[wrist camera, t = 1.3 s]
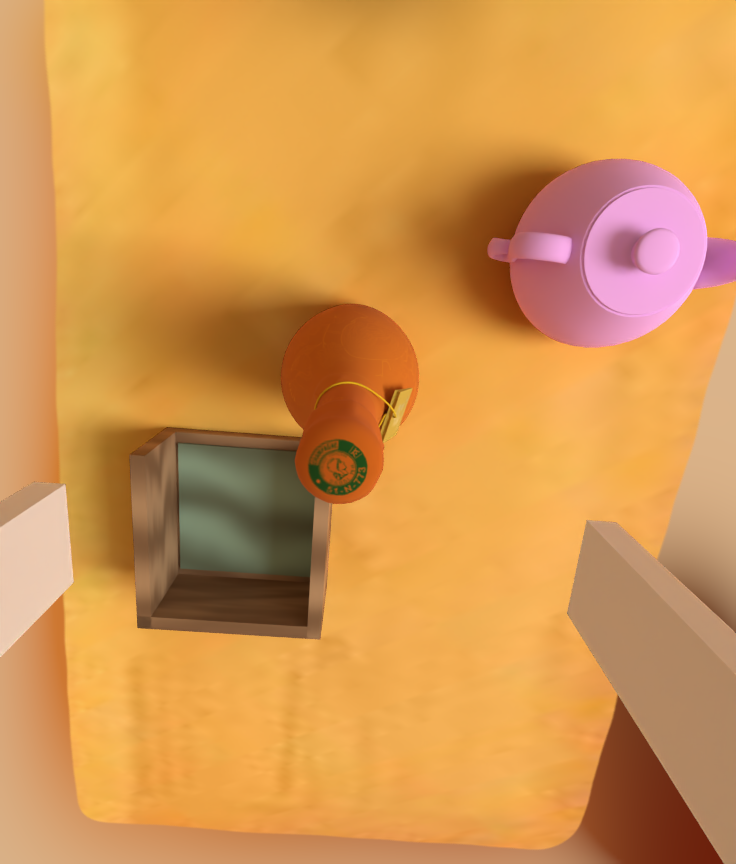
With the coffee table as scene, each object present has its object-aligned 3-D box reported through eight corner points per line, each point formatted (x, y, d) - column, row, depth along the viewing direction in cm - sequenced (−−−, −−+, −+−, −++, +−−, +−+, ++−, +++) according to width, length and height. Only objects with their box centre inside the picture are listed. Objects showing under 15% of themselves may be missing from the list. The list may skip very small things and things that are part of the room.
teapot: (722, 180, 44) (860, 141, 31) (683, 350, 47) (792, 372, 35) (486, 162, 43) (535, 115, 31) (466, 335, 47) (502, 353, 35)
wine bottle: (339, 429, 49) (307, 635, 20) (277, 342, 47) (140, 436, 18) (427, 371, 48) (527, 503, 19) (367, 279, 45) (375, 268, 16)
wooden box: (167, 427, 49) (129, 454, 41) (336, 440, 49) (331, 469, 41) (170, 577, 53) (137, 628, 45) (326, 587, 54) (320, 639, 46)
